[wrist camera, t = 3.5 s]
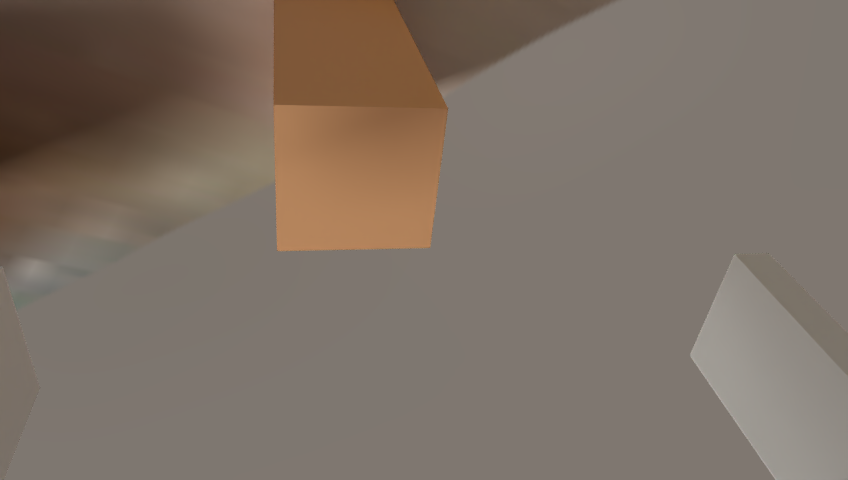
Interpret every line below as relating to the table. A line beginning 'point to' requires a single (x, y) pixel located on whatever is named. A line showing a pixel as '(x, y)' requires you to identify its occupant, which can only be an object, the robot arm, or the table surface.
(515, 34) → the table surface
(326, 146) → the square peg
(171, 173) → the table surface
